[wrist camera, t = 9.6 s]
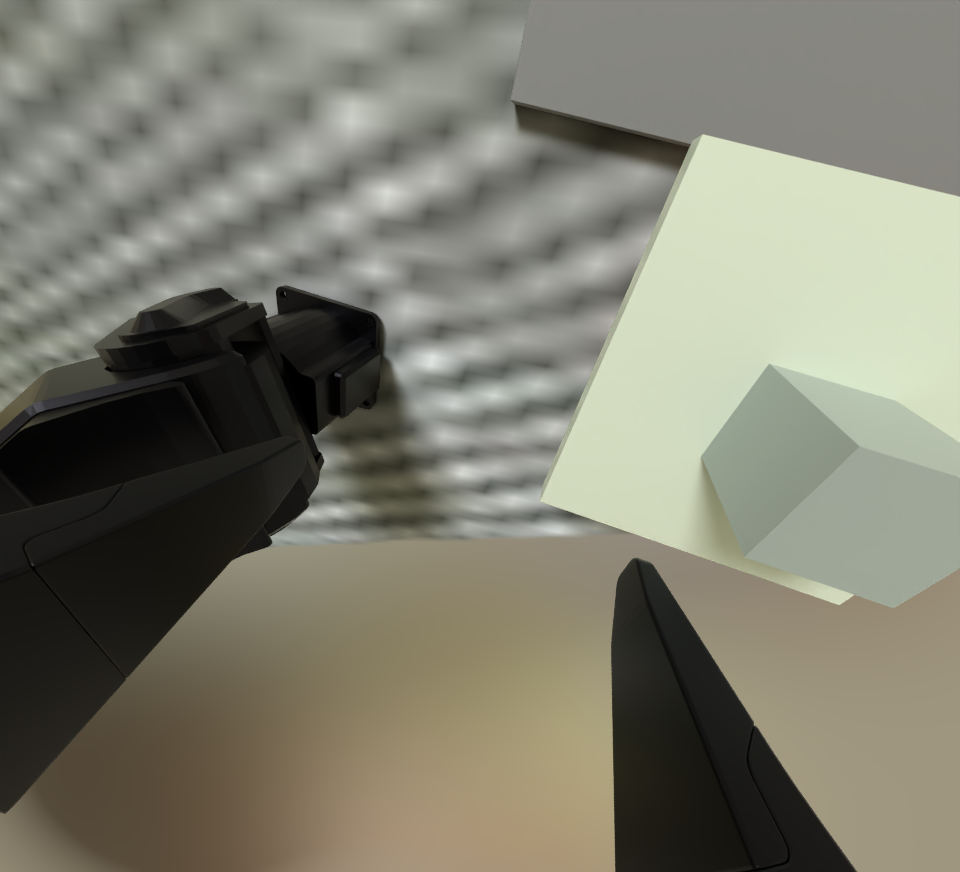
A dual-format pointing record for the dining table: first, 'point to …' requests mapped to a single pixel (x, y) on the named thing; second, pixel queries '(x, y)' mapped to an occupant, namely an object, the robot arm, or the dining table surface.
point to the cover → (783, 380)
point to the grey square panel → (760, 77)
